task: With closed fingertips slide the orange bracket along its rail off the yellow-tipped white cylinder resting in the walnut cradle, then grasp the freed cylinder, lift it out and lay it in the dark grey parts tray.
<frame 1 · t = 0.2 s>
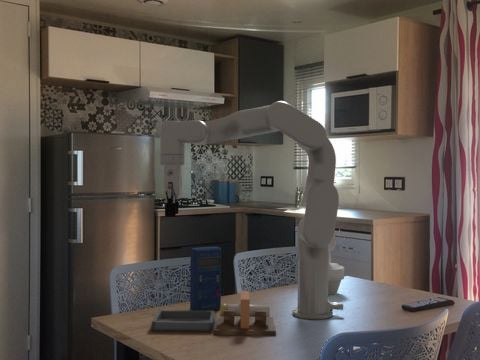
hand: (171, 215, 171), 31 cm above the table, fingers open, 9 cm apart
tray: (184, 325, 158), on the table
yellow-tipped white cylinder: (244, 316, 156), point 3 cm above the table, touching cradle board
electronic device: (205, 310, 176), on the table
cradle board: (244, 327, 156), on the table
orange bracket: (244, 309, 156), point 5 cm above the table, slide at 0.0 cm
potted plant: (328, 293, 202), on the table
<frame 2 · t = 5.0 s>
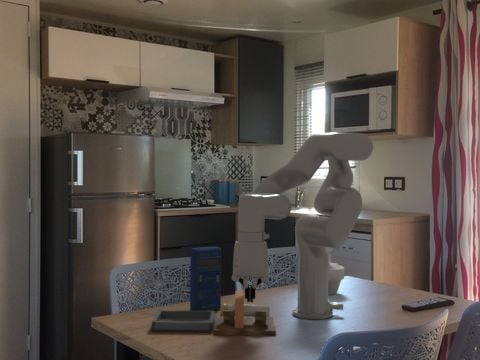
hand: (249, 301, 156), 8 cm above the table, fingers closed
orange bracket: (239, 309, 156), point 5 cm above the table, slide at 1.6 cm, touching gripper
everything else where it was.
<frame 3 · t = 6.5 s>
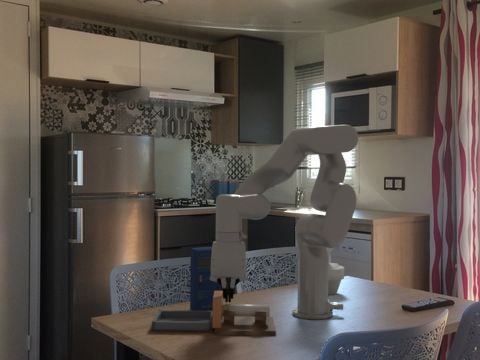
hand: (228, 301, 156), 8 cm above the table, fingers closed
orange bracket: (217, 308, 156), point 5 cm above the table, slide at 7.8 cm, touching gripper, tray
everything else where it was.
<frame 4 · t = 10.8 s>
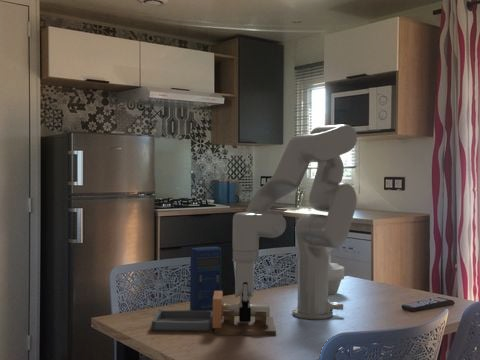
hand: (244, 318, 156), 3 cm above the table, fingers open, 3 cm apart
yellow-tipped white cylinder: (244, 316, 156), point 3 cm above the table, tilted 5°, touching cradle board, gripper
orange bracket: (217, 308, 156), point 5 cm above the table, slide at 7.8 cm, touching tray
everything else where it was.
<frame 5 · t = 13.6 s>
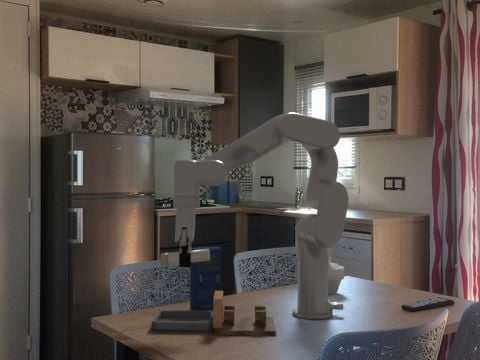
hand: (185, 265, 158), 17 cm above the table, fingers closed on yellow-tipped white cylinder, 3 cm apart
yellow-tipped white cylinder: (186, 263, 158), point 18 cm above the table, tilted 9°, touching gripper
orange bracket: (218, 308, 156), point 5 cm above the table, slide at 7.6 cm
everything else where it was.
when the fingers open (2 cm above the table, at t = 16.3 s): yellow-tipped white cylinder drops 2 cm, resting on tray.
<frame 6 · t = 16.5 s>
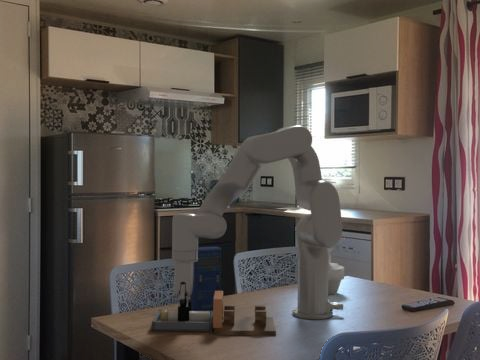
hand: (184, 317, 158), 2 cm above the table, fingers open, 5 cm apart
yellow-tipped white cylinder: (185, 322, 158), point 1 cm above the table, tilted 6°, touching tray
everything else where it was.
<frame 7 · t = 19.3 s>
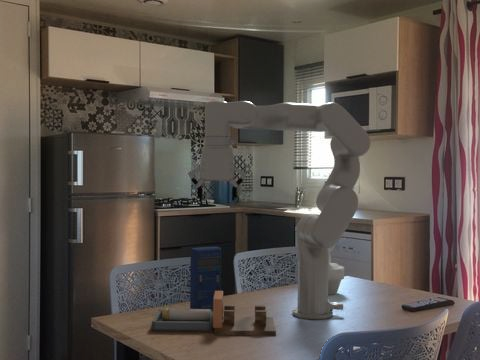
hand: (217, 200, 163), 36 cm above the table, fingers open, 9 cm apart
yellow-tipped white cylinder: (185, 316, 159), point 2 cm above the table, tilted 88°, touching tray
everything else where it was.
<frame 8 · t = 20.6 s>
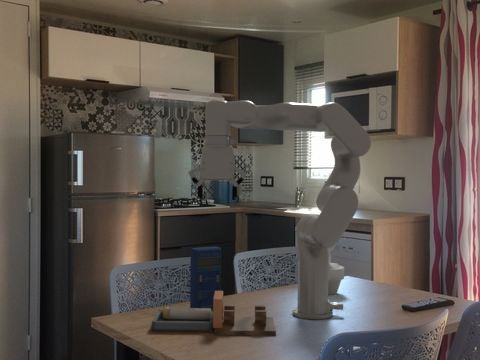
hand: (217, 199, 163), 36 cm above the table, fingers open, 9 cm apart
yellow-tipped white cylinder: (186, 311, 161), point 3 cm above the table, tilted 123°, touching tray
everything else where it was.
at the end: orange bracket slide at 7.6 cm; yellow-tipped white cylinder inside the target area on the tray (2.1 cm from its centre), point 3.2 cm above the tray's base; the gripper is holding nothing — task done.
